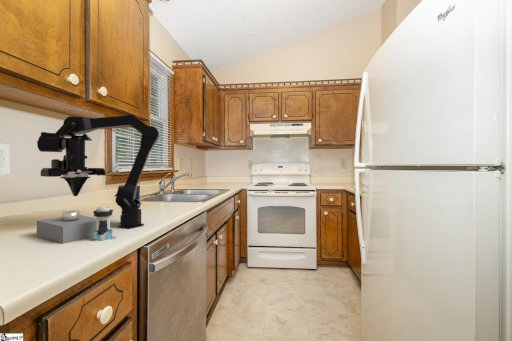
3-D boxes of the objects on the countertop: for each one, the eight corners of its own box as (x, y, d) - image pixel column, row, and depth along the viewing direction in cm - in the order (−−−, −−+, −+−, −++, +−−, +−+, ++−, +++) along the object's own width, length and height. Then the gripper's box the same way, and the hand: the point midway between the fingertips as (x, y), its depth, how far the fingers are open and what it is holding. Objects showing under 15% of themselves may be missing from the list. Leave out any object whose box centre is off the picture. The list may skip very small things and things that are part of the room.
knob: (74, 231, 87) (74, 210, 87) (82, 233, 85) (82, 211, 85) (58, 235, 83) (58, 212, 83) (66, 237, 80) (66, 213, 80)
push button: (118, 235, 84) (118, 205, 84) (116, 240, 79) (116, 208, 79) (94, 237, 81) (94, 206, 81) (91, 242, 76) (91, 209, 76)
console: (76, 228, 93) (76, 214, 93) (103, 234, 85) (103, 219, 85) (36, 235, 82) (36, 220, 82) (63, 243, 75) (63, 226, 75)
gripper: (89, 154, 103) (89, 192, 103) (32, 151, 86) (32, 197, 87) (106, 153, 98) (106, 194, 98) (49, 151, 81) (49, 199, 81)
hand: (75, 196), depth 91 cm, fingers closed
